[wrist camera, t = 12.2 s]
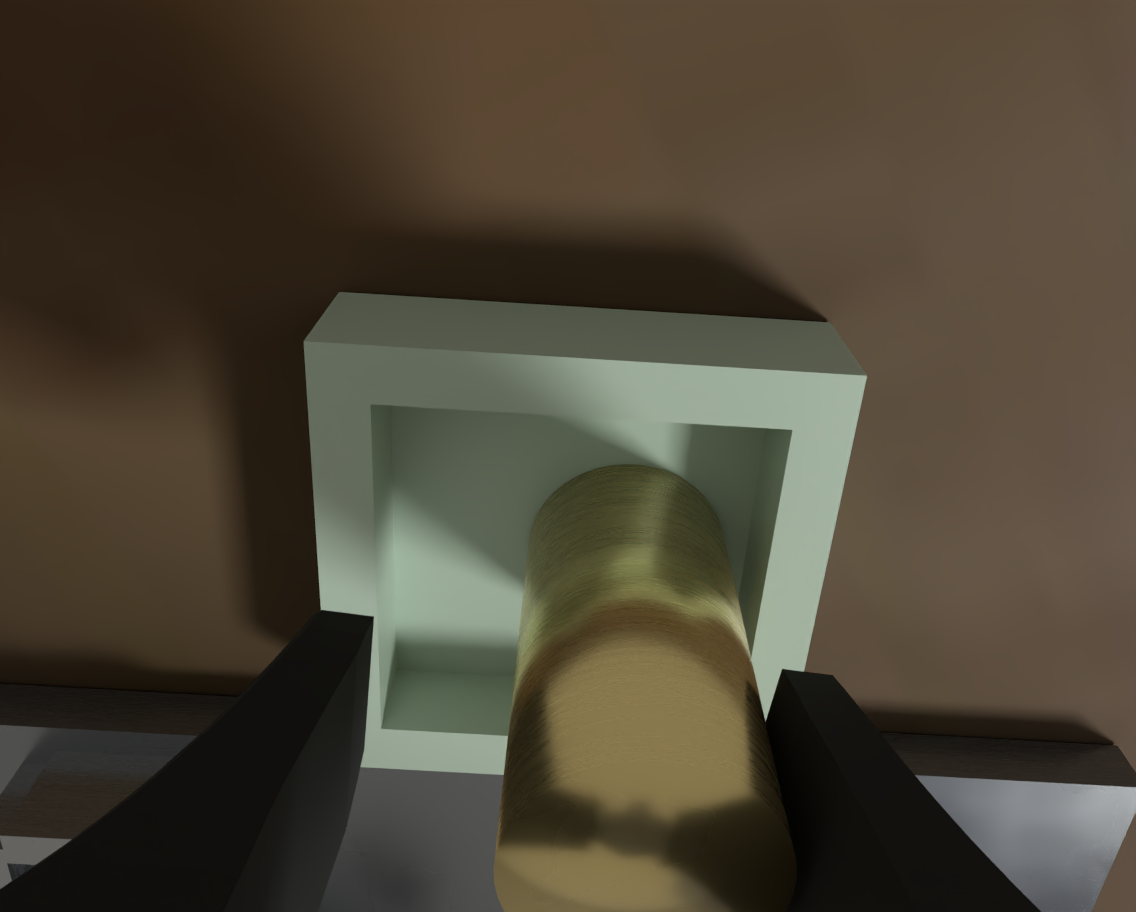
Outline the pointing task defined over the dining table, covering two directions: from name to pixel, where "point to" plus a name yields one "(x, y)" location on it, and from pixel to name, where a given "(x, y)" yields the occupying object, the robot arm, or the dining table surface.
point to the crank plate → (472, 801)
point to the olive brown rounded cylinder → (637, 714)
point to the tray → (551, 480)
